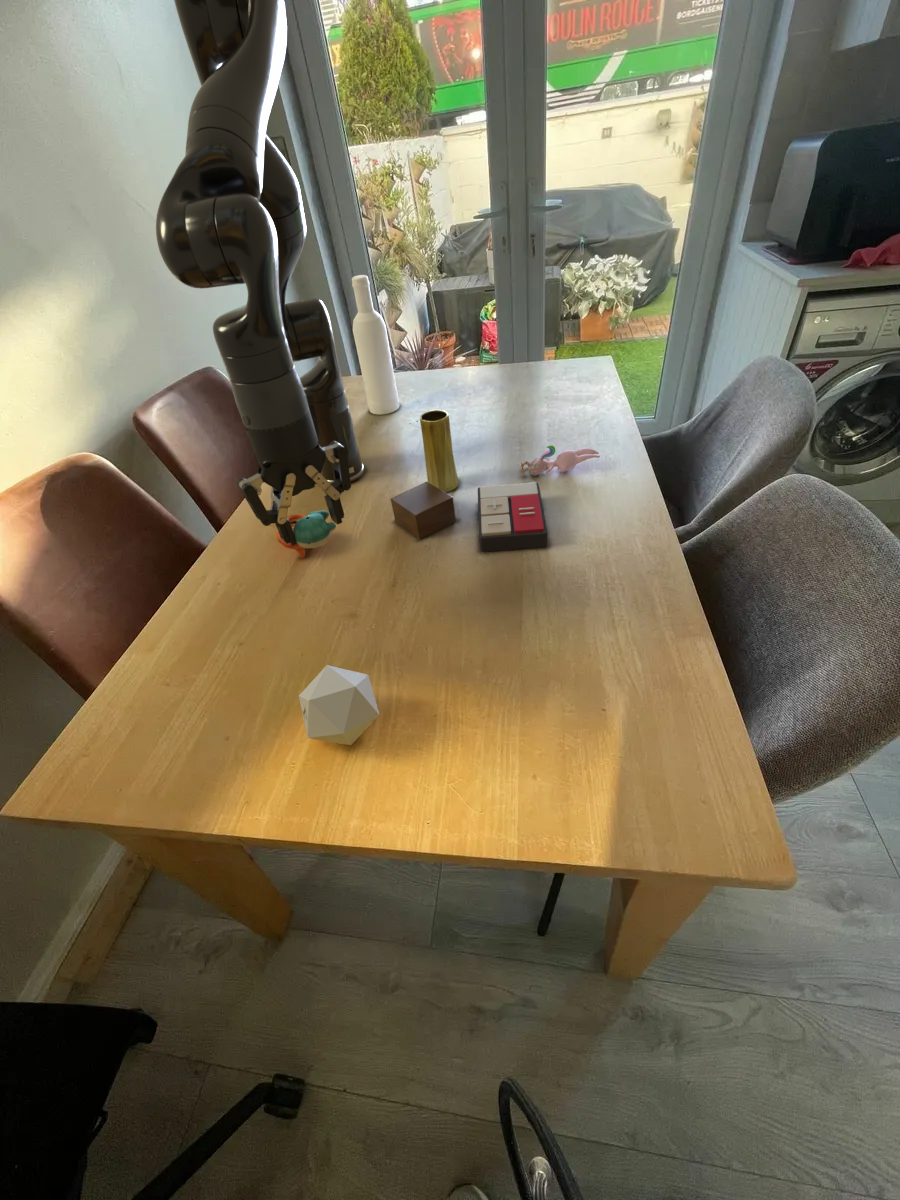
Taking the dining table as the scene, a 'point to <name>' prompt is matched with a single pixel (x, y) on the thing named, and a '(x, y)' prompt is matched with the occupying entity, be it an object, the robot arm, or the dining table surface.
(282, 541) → the pot
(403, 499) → the walnut block
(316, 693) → the die
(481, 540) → the calculator
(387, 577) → the dining table surface
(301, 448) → the robot arm
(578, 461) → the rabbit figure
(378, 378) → the bottle
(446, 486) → the vase
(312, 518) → the whale figurine
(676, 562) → the dining table surface
